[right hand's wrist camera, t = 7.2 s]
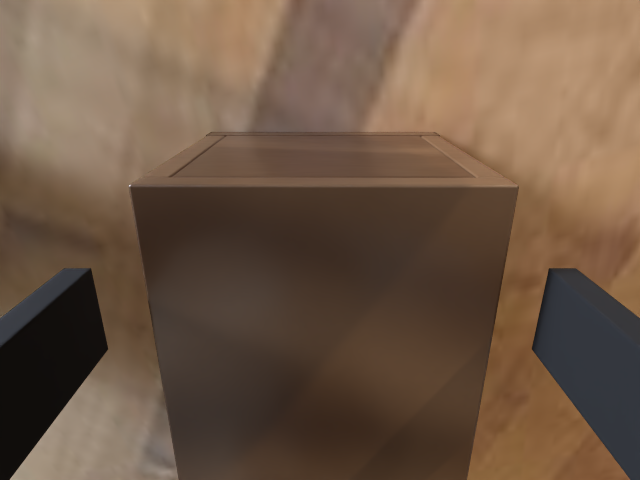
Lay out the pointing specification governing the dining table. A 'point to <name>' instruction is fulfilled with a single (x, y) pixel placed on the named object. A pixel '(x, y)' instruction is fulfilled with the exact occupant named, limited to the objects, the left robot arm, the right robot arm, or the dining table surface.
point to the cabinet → (323, 302)
